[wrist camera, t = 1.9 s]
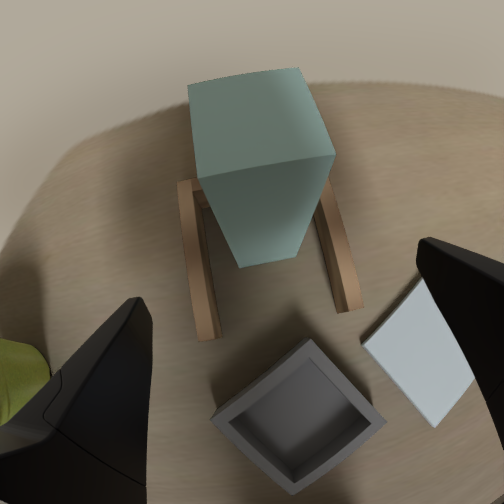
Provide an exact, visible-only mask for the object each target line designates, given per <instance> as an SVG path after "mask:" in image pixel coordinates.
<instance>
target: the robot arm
mask: <svg viewBox="0 0 504 504" xmlns="http://www.w3.org/2000/svg"><path fill="white" fill-rule="evenodd" d="M416 265H417V268H418V270H419V272H420V274H421V276H422V278H423V280H424V282H425V284H426V286H427V288H428V290H429V292H430V294H431V296H432V298H433V300H434V302H435V304H436V305H437V307H438V309H439V311H440V312H441V314H442V316H443V317H444V319H445V321H446V323H447V324H448V326H449V328H450V330H451V332H452V333H453V335H454V337H455V339H456V341H457V343H458V345H459V346H460V348H461V350H462V352H463V354H464V356H465V358H466V360H467V362H468V364H469V366H470V368H471V370H472V372H473V375H474V377H475V379H476V381H477V383H478V385H479V388H480V390H481V392H482V394H483V397H484V399H485V401H486V404H487V407H488V409H489V412H490V414H491V417H492V419H493V422H494V425H495V427H496V430H497V433H498V436H499V438H500V441H501V444H502V447H503V450H504V264H503V263H501V262H498V261H496V260H493V259H491V258H488V257H485V256H483V255H480V254H478V253H475V252H472V251H469V250H467V249H464V248H461V247H458V246H456V245H453V244H450V243H447V242H444V241H441V240H438V239H435V238H432V237H427V238H423V239H421V240H420V241H419V243H418V249H417V256H416ZM152 334H153V322H152V317H151V315H150V313H149V311H148V309H147V307H146V305H145V303H144V301H143V299H142V298H141V297H134V298H129V299H127V300H126V301H125V302H124V303H123V304H122V305H121V306H120V307H119V308H118V309H117V310H116V311H115V312H114V313H113V314H112V315H111V316H110V317H109V318H108V319H107V320H106V321H105V322H104V323H103V324H102V325H101V326H100V327H99V328H98V329H97V330H96V331H95V332H94V333H93V334H92V335H91V336H90V337H89V339H88V340H87V341H86V342H85V343H84V344H83V345H82V346H81V347H80V348H79V349H78V350H77V351H76V352H75V353H74V354H73V355H72V356H71V357H70V358H69V359H68V361H67V362H66V363H65V364H64V365H63V366H62V367H61V369H59V370H58V371H57V372H56V373H55V375H54V376H53V377H52V378H51V379H50V380H49V381H48V382H47V383H46V384H45V385H44V386H43V387H42V388H41V389H40V390H39V391H38V392H37V393H36V394H35V395H34V396H33V397H32V398H31V399H30V400H29V401H28V402H27V403H26V404H25V405H24V406H23V407H22V408H21V409H20V410H19V411H18V412H17V413H16V414H15V415H14V416H13V417H12V418H11V419H10V420H9V421H8V422H6V423H5V424H3V425H1V426H0V504H147V489H146V487H145V486H146V460H147V431H148V414H149V399H150V387H151V376H152V361H153V352H152ZM491 504H504V494H503V495H502V496H500V497H499V498H498V499H496V500H495V501H494V502H492V503H491Z"/></svg>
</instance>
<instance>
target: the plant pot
mask: <svg viewBox="0 0 504 504" xmlns="http://www.w3.org/2000/svg"><path fill="white" fill-rule="evenodd" d="M49 380H50V375H49V367H48V365H47V363H46V360H45V359H44V357H43V356H42V354H41V353H40V352H39V351H38V350H37V349H36V348H35V347H33V346H31V345H29V344H24V343H19V342H14V341H10V340H6V339H1V338H0V426H1V425H3V424H5V423H6V422H8V421H9V420H10V419H11V418H12V417H13V416H14V415H15V414H16V413H17V412H18V411H19V410H20V409H21V408H22V407H23V406H24V405H25V404H26V403H27V402H28V401H29V400H30V399H31V398H32V397H33V396H34V395H35V394H36V393H37V392H38V391H39V390H40V389H41V388H42V387H43V386H44V385H45V384H46V383H47V382H48V381H49Z"/></svg>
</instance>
